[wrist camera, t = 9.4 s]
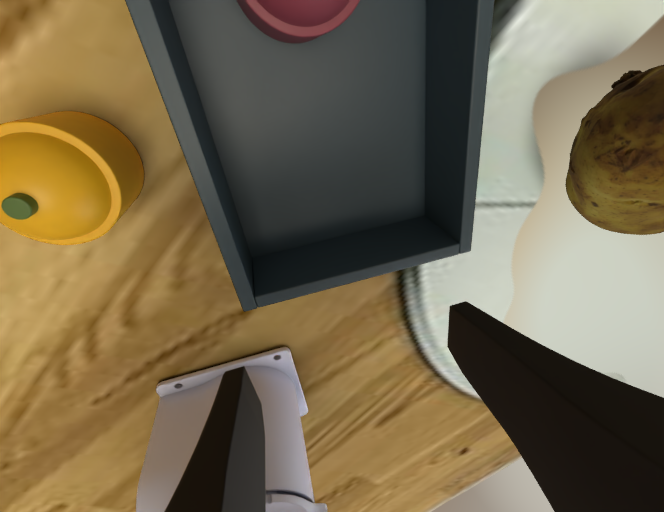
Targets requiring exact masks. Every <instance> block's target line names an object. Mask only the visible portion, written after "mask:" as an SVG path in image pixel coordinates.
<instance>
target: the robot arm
mask: <svg viewBox="0 0 664 512" xmlns="http://www.w3.org/2000/svg"><path fill="white" fill-rule="evenodd" d="M448 348H449V350H450V352H451V354H452V355H453V357H454V359H455V361H456V363H457V364H458V366H459V368H460V369H461V371H462V373H463V374H464V376H465V377H466V378H467V380H468V381H469V383H470V384H471V385H472V387H473V388H474V389H475V391H476V392H477V394H478V395H479V396H480V398H481V399H482V400H483V402H484V403H485V404H486V406H487V407H488V408H489V410H490V411H491V412H492V414H493V415H494V416H495V418H496V419H497V421H498V422H499V423H500V425H501V426H502V427H503V429H504V430H505V431H506V433H507V434H508V436H509V437H510V439H511V440H512V442H513V443H514V445H515V446H516V448H517V449H518V451H519V453H520V454H521V456H522V457H523V459H524V461H525V462H526V464H527V466H528V467H529V469H530V470H531V472H532V474H533V475H534V477H535V479H536V481H537V482H538V484H539V486H540V487H541V489H542V491H543V493H544V494H545V496H546V498H547V499H548V501H549V503H550V504H551V506H552V508H553V510H554V511H555V512H664V398H662V397H660V396H657V395H654V394H652V393H649V392H647V391H644V390H641V389H639V388H636V387H633V386H631V385H628V384H626V383H623V382H621V381H618V380H616V379H613V378H611V377H609V376H606V375H604V374H602V373H600V372H597V371H595V370H593V369H590V368H588V367H586V366H584V365H581V364H579V363H577V362H575V361H573V360H570V359H569V358H567V357H565V356H563V355H561V354H559V353H557V352H555V351H553V350H550V349H549V348H547V347H545V346H543V345H541V344H539V343H537V342H536V341H534V340H532V339H530V338H528V337H526V336H524V335H523V334H521V333H519V332H517V331H516V330H514V329H512V328H510V327H509V326H507V325H505V324H504V323H502V322H500V321H498V320H497V319H495V318H493V317H492V316H490V315H488V314H487V313H485V312H483V311H482V310H480V309H478V308H477V307H475V306H473V305H471V304H470V303H468V302H462V303H459V304H455V305H452V306H450V312H449V330H448ZM275 355H279V356H275ZM156 392H157V394H158V395H159V396H160V400H159V404H158V408H157V412H156V416H155V420H154V424H153V428H152V432H151V436H150V440H149V444H148V448H147V451H146V455H145V459H144V463H143V467H142V471H141V475H140V479H139V484H138V491H137V501H136V512H328V510H327V505H326V504H325V503H320V504H319V503H315V501H314V495H313V489H312V483H311V478H310V472H309V466H308V460H307V454H306V448H305V442H304V436H303V430H302V424H301V418H300V416H303V415H306V414H307V412H308V407H307V404H306V401H305V397H304V394H303V391H302V388H301V384H300V381H299V378H298V375H297V371H296V368H295V365H294V362H293V358H292V355H291V352H290V349H289V348H287V347H282V348H278V349H275V350H271V351H268V352H264V353H261V354H257V355H254V356H250V357H247V358H243V359H240V360H236V361H233V362H229V363H226V364H222V365H219V366H215V367H212V368H208V369H205V370H201V371H197V372H194V373H190V374H187V375H183V376H180V377H176V378H173V379H169V380H166V381H162V382H160V383H158V384H157V387H156Z"/></svg>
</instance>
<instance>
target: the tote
mask: <svg viewBox="0 0 664 512" xmlns="http://www.w3.org/2000/svg"><path fill="white" fill-rule="evenodd" d="M125 1H126V4H127V7H128V9H129V12H130V14H131V17H132V20H133V22H134V25H135V28H136V30H137V33H138V35H139V38H140V41H141V43H142V46H143V49H144V51H145V54H146V56H147V59H148V62H149V64H150V67H151V70H152V72H153V75H154V77H155V80H156V83H157V85H158V88H159V91H160V93H161V96H162V98H163V101H164V104H165V106H166V109H167V112H168V114H169V117H170V119H171V122H172V125H173V127H174V130H175V133H176V135H177V138H178V140H179V143H180V146H181V148H182V151H183V154H184V156H185V159H186V161H187V164H188V167H189V169H190V172H191V175H192V177H193V180H194V182H195V185H196V188H197V190H198V193H199V196H200V198H201V201H202V203H203V206H204V209H205V211H206V214H207V217H208V219H209V222H210V224H211V227H212V230H213V232H214V235H215V238H216V240H217V243H218V245H219V248H220V251H221V253H222V256H223V259H224V261H225V264H226V266H227V269H228V272H229V274H230V277H231V280H232V282H233V285H234V287H235V290H236V293H237V295H238V298H239V301H240V303H241V306H242V308H243V311H244V312H245V311H249V310H252V309H256V308H257V306H258V307H263V306H266V305H270V304H274V303H278V302H281V301H285V300H289V299H293V298H296V297H300V296H304V295H308V294H311V293H315V292H319V291H323V290H326V289H330V288H334V287H338V286H341V285H345V284H349V283H353V282H356V281H360V280H364V279H368V278H371V277H375V276H379V275H383V274H386V273H390V272H394V271H398V270H401V269H405V268H409V267H413V266H416V265H420V264H424V263H428V262H431V261H435V260H439V259H443V258H446V257H450V256H454V255H458V254H459V253H460V254H461V253H465V252H469V251H471V242H472V232H473V221H474V210H475V200H476V189H477V179H478V168H479V157H480V147H481V136H482V125H483V115H484V104H485V94H486V83H487V72H488V62H489V51H490V40H491V30H492V19H493V9H494V0H360V1H359V3H358V5H357V7H356V8H355V9H354V11H353V12H352V14H351V15H350V16H349V17H348V18H347V19H346V20H345V21H344V22H343V23H342V24H341V25H340V26H338V27H337V28H335V29H334V30H332V31H330V32H328V33H326V34H324V35H322V36H320V37H318V38H315V39H313V40H311V41H308V42H304V43H285V42H281V41H278V40H276V39H273V38H271V37H269V36H268V35H266V34H264V33H263V32H262V31H260V30H259V29H258V28H257V27H256V26H255V25H254V24H253V23H252V22H251V21H250V20H249V19H248V18H247V16H246V15H245V14H244V12H243V11H242V9H241V8H240V6H239V4H238V2H237V0H125Z"/></svg>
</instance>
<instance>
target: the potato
mask: <svg viewBox="0 0 664 512" xmlns="http://www.w3.org/2000/svg"><path fill="white" fill-rule="evenodd" d="M612 88H613V90H612V91H611V92H609V93H608V94H607V95H605V96H604V97H603V99H602V100H601V101H600V102H599V103H598V104H597V105H596V106H595V107H594V108H591V109H590V110H589V112H588V113H587V115H586V116H585V117H584V118H583V119H582V121H581V126H580V129H579V131H578V133H577V135H576V137H575V139H574V142H573V145H572V149H571V153H570V163H569V170H568V173H567V178H566V191H567V194H568V197H569V199H570V201H571V203H572V204H573V206H574V207H575V208H576V210H577V211H578V212H579V213H580V214H581V215H582V216H583V217H584V218H585V219H587V220H588V221H589V222H591V223H592V224H595V225H596V226H598V227H600V228H603V229H606V230H609V231H613V232H618V233H624V234H636V235H647V234H656V233H661V232H664V65H661V66H657V67H654V68H651V69H649V70H647V71H645V72H641V71H629V72H628V73H625V74H623V76H622V77H621V78H620V80H618V81H616V82H614V84H613V85H612Z"/></svg>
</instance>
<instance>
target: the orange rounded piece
mask: <svg viewBox="0 0 664 512" xmlns="http://www.w3.org/2000/svg"><path fill="white" fill-rule="evenodd" d="M143 182H144V169H143V165H142V161H141V159H140V156H139V154H138V152H137V150H136V149H135V147H134V146H133V144H132V143H131V142H130V141H129V139H128V138H127V137H126V136H125V135H124V134H123V133H122V132H121V131H119V130H118V129H117V128H115V127H114V126H113V125H111V124H109V123H108V122H106V121H104V120H102V119H100V118H98V117H95V116H92V115H89V114H86V113H82V112H75V111H61V112H55V113H50V114H45V115H40V116H36V117H31V118H26V119H21V120H17V121H12V122H7V123H3V124H0V223H2V224H3V225H5V226H6V227H8V228H9V229H11V230H13V231H15V232H17V233H19V234H21V235H23V236H26V237H28V238H31V239H34V240H37V241H40V242H45V243H50V244H57V245H74V244H81V243H86V242H89V241H92V240H94V239H97V238H99V237H101V236H102V235H104V234H105V233H106V232H108V231H109V230H110V229H111V228H112V227H113V226H114V224H115V223H116V222H117V221H118V220H119V218H120V217H121V216H122V215H123V214H124V213H125V211H126V210H127V209H128V208H129V207H130V205H131V204H132V203H133V202H134V201H135V199H136V198H137V197H138V195H139V194H140V192H141V190H142V187H143Z"/></svg>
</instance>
